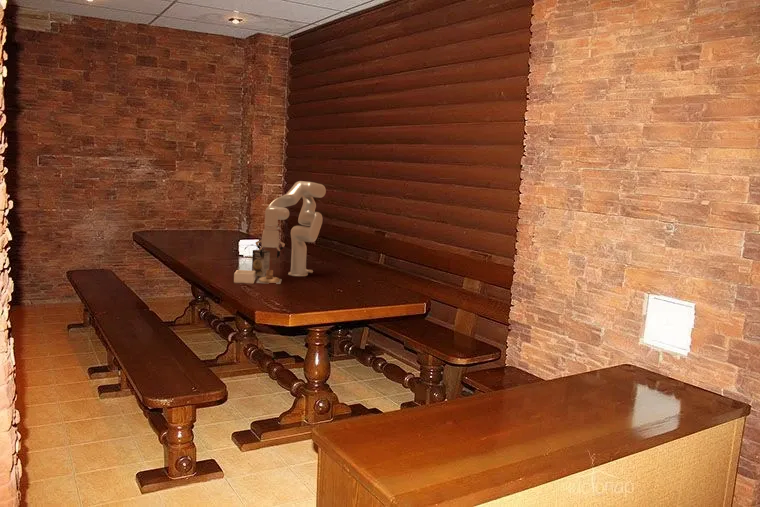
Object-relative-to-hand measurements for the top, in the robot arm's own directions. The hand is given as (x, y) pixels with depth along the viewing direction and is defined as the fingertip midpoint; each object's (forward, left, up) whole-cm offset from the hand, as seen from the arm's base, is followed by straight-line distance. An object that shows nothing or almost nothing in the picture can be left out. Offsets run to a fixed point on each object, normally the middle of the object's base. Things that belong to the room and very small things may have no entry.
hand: (269, 256), depth 373 cm
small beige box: (+14, +4, -15) cm, 21 cm away
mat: (0, 0, -15) cm, 15 cm away
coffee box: (+7, -17, -15) cm, 24 cm away
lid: (0, 0, -15) cm, 15 cm away
